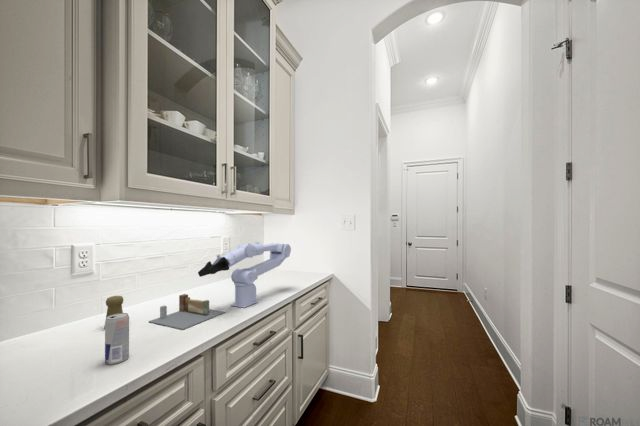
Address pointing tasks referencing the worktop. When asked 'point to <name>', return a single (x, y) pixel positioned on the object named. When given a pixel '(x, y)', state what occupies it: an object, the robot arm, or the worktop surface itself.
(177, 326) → the mat
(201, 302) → the gate
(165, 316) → the post
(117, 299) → the cork
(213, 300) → the worktop surface
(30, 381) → the worktop surface
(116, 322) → the energy drink
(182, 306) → the hinge post
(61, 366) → the worktop surface
